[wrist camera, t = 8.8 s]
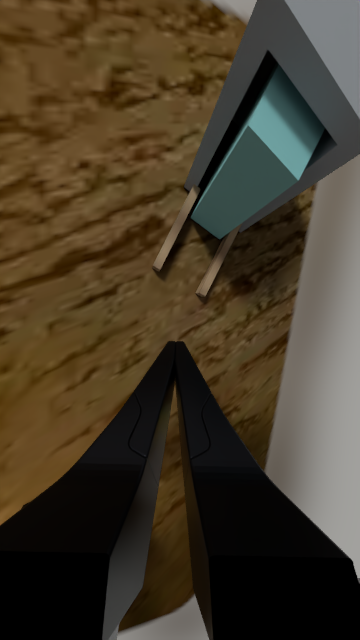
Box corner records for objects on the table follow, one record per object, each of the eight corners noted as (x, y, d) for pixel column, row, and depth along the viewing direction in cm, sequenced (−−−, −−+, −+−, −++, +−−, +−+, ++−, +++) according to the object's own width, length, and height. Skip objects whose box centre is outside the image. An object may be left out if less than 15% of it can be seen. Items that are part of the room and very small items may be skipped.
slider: (219, 239, 17) (298, 180, 9) (190, 217, 16) (248, 124, 8) (251, 177, 17) (361, 56, 9) (224, 150, 16) (320, -19, 8)
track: (201, 296, 18) (205, 296, 17) (151, 267, 16) (152, 265, 15) (235, 228, 18) (242, 223, 17) (190, 192, 16) (194, 183, 15)
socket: (240, 232, 18) (375, 143, 8) (183, 186, 16) (267, -28, 5) (279, 156, 18) (466, -36, 8) (227, 99, 16) (396, -283, 5)
